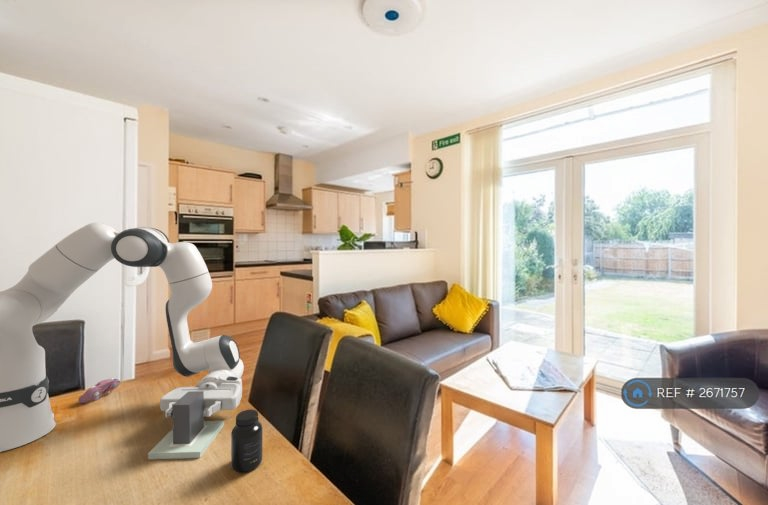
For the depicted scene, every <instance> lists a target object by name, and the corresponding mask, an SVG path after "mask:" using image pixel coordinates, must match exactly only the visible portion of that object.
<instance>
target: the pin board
mask: <svg viewBox="0 0 768 505" xmlns="http://www.w3.org/2000/svg"><path fill="white" fill-rule="evenodd" d="M224 423H225V421H224V420H204V427H203V429H202V430H201V431H200V432H199V433H198V435H197V436H196V437H195V438H194V439H193V441H192V442H191V443H190V444H173V428H172V429H171V430H170V431H169V432H168V433H167V434H166V435H164V437H162V439H161V440H160V441H159V442H158V443H156V445H155V446H154V447H153V448H152V449H151V450H150V451H149V452H148V453H147V459H148V460H174V459H177V460H178V459H200V458H201V457H203V455H204V453H205V452H206V451H207V449H208V448H209V446H210V445H211V444H212V442H213V441H214V440H215V438H217V436H218V434H219V433H220V432H221V430H222V429H223V428H224V427H225V426H224V425H225V424H224Z"/></svg>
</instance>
